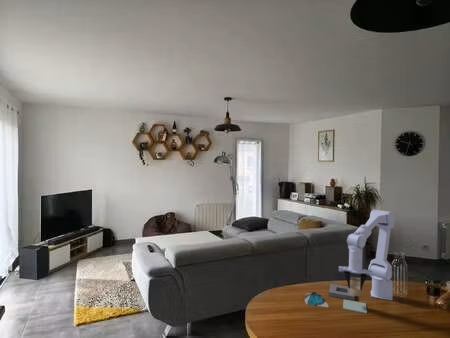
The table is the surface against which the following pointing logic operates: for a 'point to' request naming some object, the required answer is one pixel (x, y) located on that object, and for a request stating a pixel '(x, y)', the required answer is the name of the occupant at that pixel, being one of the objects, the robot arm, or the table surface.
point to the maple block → (355, 286)
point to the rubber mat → (354, 306)
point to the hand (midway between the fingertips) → (354, 288)
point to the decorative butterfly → (315, 299)
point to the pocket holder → (336, 289)
